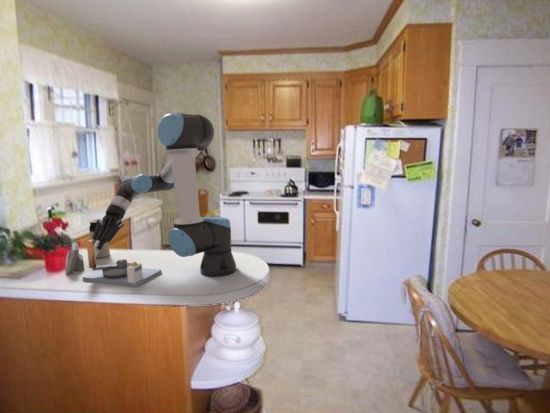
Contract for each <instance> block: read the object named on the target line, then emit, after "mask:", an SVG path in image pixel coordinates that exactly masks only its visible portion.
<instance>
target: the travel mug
mask: <svg viewBox="0 0 550 413" xmlns="http://www.w3.org/2000/svg"><path fill="white" fill-rule="evenodd" d="M98 219H99V220H101V219H102V218H95V219H90V220H89V221H88V222H89V226H88V228H89V229H88V230H89V240H94V239H93V238H92V237H93V234H94V231H95V228H96V224H97V222H96V221H97V220H98ZM94 242H95V240H94ZM110 255H111V251H110V242H109V243H108V242H106V243H105V244H104V245H103V247H102V249H101V250H100V251H99V252H98V254H97V256H96V259H102V258H103V257H104V258H107V257H109V256H110Z"/></svg>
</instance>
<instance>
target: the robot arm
mask: <svg viewBox="0 0 550 413" xmlns="http://www.w3.org/2000/svg"><path fill="white" fill-rule="evenodd" d="M157 138H158V140H159V141H160V143H161V145H163V146H165V150H166V152H167V153H168V154H169V155H170V157H171V158H170V159H169V161H168V162H167V163H166V165H165V166H164V167H163V168H162V170H161V171H160V172H159V174H153V175H152V174H151V175H147V174H142V173H141V174H137V175H135V176H134V177H130V176H129V177H125V178H124V179H123V180H122V182H120V184H119V187H118V189H117V190H116V193H115V194H114V196H113V197H112V199H111V201H110V203H109V205H108V206H107V209H106V210H105V215H104V216H103V217H102V218H97V219H98V220H97V221H96V222H97V224H96V228H95V231H94V234H93V237H92V238H93V239H94V240H95V242H94V248H95V258H96V256H97V254H98V252H99V251H100V250H101V249H102V247H103V245H104V244H105V243H106V242H108V243H109V244H110V242H111V241H112V240H113V239H114V237H115V236H116V235H117V234H118V232H119V231H120V230H121V229H122V227H124V226H125V224H124V223H123V222H122V220H124V219H123V218H124V217H125V215H126V212H127V211H128V209H129V207H130V205H131V204H132V202H133V200H134V198H135V197H138V196H139V195H141V194H148V193H149V194H150V193H156V192H164V191H170V190H174V197H175V198H174V199H175V207H176V208H175V209H176V219H175V220H174V221H173V228H172V229H171V230H169V233H168V242H169V246H170V247H171V249H172V251H173V252H174V253H175V254H176V255H178V256H179V257H182V258H186V257H193V256H195V255H198V254H201V253H203V255H202V259H201V262H200V266H199V268H200V273H201V274H202V275H203V276H206V277H224V276H228V275H231V274H234V273H235V272H236V271H237V264H236V261H235V258H234V255H233V252H232V227H231V220H230V219H229V218H227V217H221V216H204V217H202V216H201V215H200V204H199V203H200V202H199V192H198V182H197V169H196V160H195V159H196V157H197V156H198V155H199V154H200V153H201V152H205V151H206V150H207V149H208V147H209V146H210V145H211V144H212V142H213V141H214V138H215V129H214V125H213V123H212V121H211V120H210V119H209V118H208V117H207V116H205V115H202V114H192V113H191V114H190V113H179V112H176V113H175V112H174V113H167V114H165V115H163V116H162V118H160V121H159V122H158V127H157ZM99 219H101V220H99ZM96 259H97V258H96Z"/></svg>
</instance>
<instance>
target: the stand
mask: <svg viewBox="0 0 550 413" xmlns="http://www.w3.org/2000/svg"><path fill="white" fill-rule="evenodd" d="M130 263H131V266H129V267H127V275H128V276H125V277H120V278H105V277H103V272H102V270H94V271H92V272H91V273H89V274H87V275H84V276H82V281H83V282H88V283H89V282H90V283H92V282H93V283H98V284H99V283H101V284H108V285H118V286H125V287H134V288H138V287H140V286H142V285H143V284H145V283H147V282H148V281H150V280H153V279H155V277H158V276H159V275H161V274H162V272H163V270H162V269H160V268H159V269H157V268H156V269H155V268H147V267H143V264H142V263H138V262H137V261H133V262H130Z"/></svg>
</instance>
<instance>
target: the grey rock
mask: <svg viewBox="0 0 550 413" xmlns="http://www.w3.org/2000/svg"><path fill="white" fill-rule="evenodd" d="M73 242H74V243H73ZM73 242H72V243H73V244H72V243H71V245H72V247H71V246H70V248H71V252H70V253H69V252H68V255H67V257H66V261H67V262H65V273H66V274H68V275H71V274H73V273H74V272H80V271H81V272H82V271H85V262H84V257H83V255H82V254H80V253H79V252H80V249H79V248H80V247H79V243H78V242H76V241H73Z"/></svg>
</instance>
